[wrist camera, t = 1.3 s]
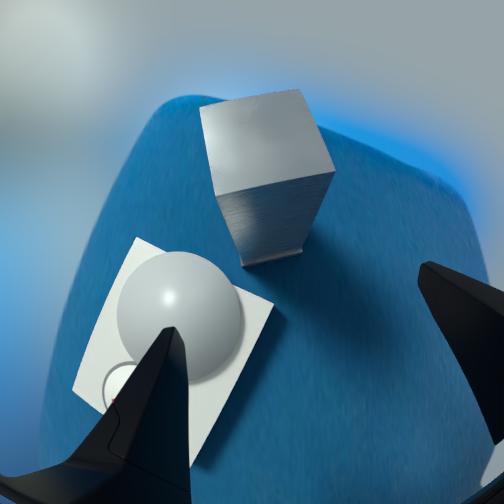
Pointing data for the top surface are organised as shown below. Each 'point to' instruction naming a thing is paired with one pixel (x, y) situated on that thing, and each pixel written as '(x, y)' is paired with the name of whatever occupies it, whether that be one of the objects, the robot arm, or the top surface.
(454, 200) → the top surface
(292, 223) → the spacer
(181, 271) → the scale
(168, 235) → the top surface
